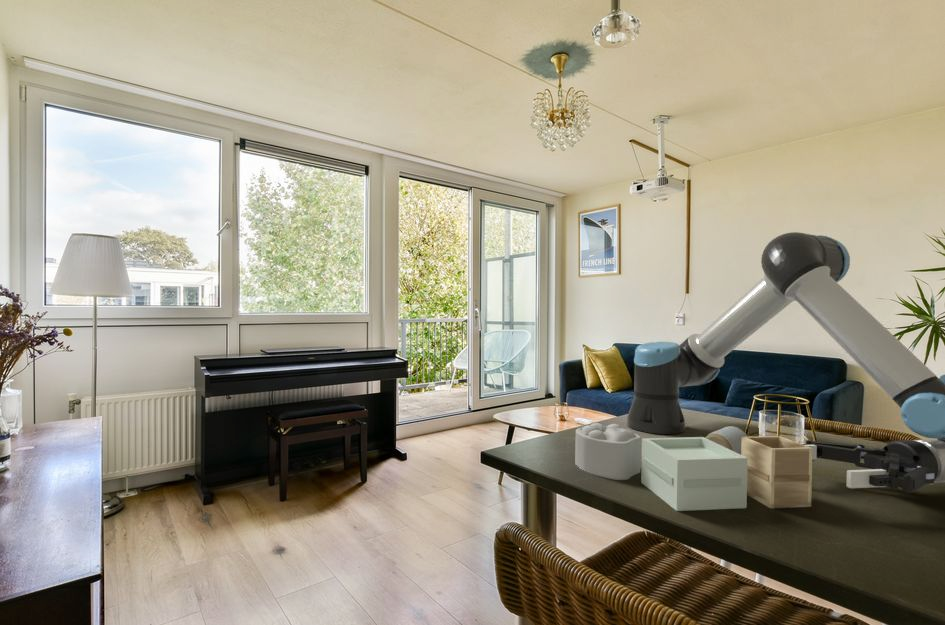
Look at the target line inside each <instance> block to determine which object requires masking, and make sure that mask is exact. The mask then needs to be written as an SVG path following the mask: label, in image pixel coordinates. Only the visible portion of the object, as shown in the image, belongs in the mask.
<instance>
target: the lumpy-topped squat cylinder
mask: <svg viewBox="0 0 945 625" xmlns="http://www.w3.org/2000/svg"><path fill="white" fill-rule="evenodd" d="M574 442H575V445H574V446H575V448H574V451H575V453H574V454H575V455H574V459H575V460H574V463H575V466H576V465H577V466H578V467H579V468H578V467H577V466H576V467H577V468H578V469H580V470H581V469H582V470H581V471H583V470H584V471H583V472H585V471H586V472H585V473H588V472H589V473H588V474H591V475H595V476H598V477H602V478H606V479H610V480H616V481H626V480H630V479H631V477H633V476H635V475H638V474H640V473H641V464H642V437H641V436H640V435H639V434H637V433H634V432H633V431H632V430H630V429H628V428H623V427H622V426H621V425H620V424H618V423H611V424H608V425H603V424H601V423H599V422H592V423H591V424H590V425H589V424H588V425H584V426H582V427H578V428H576V429H575V441H574Z"/></svg>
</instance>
